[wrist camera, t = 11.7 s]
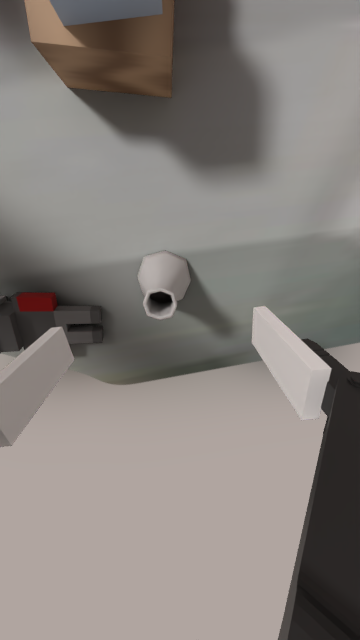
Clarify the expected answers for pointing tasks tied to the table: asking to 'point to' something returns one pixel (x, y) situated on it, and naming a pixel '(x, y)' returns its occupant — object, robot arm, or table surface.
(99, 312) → the toy
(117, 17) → the blue brick
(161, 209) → the table surface
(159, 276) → the flask
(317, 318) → the table surface
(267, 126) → the table surface
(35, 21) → the base block
